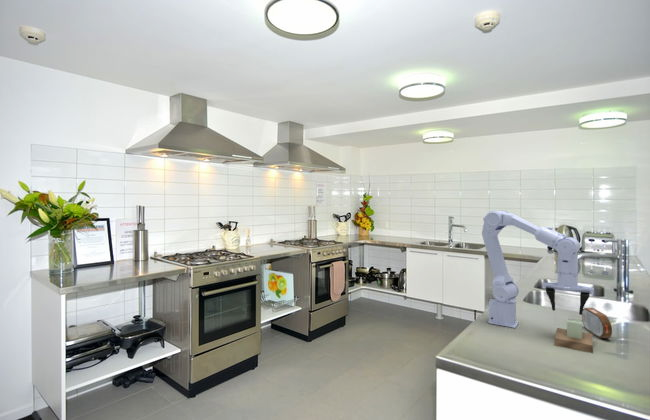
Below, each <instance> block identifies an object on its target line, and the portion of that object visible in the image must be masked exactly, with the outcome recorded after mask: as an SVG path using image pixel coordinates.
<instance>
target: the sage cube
mask: <svg viewBox="0 0 650 420" xmlns="http://www.w3.org/2000/svg"><path fill="white" fill-rule="evenodd" d="M566 329H567V337H572V338H578V339H582V332H583V322H582V320H579V319H572V318H567V321H566Z"/></svg>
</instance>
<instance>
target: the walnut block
mask: <svg viewBox="0 0 650 420" xmlns="http://www.w3.org/2000/svg"><path fill="white" fill-rule="evenodd" d="M593 336H594V334H593V333H589V332H583V331H582V339H578V338H572V337H567V328H561V327H557V328H556V332H555V336H554V346H556V347H561V348H566V349H570V350H575V351H576V350H577V351H581V352H585V353H589V354H590V353H591V354H593V351H594V350H593V349H594V347H593V346H594V344H593V343H594V341H593V340H594V338H593Z"/></svg>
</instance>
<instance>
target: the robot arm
mask: <svg viewBox="0 0 650 420" xmlns="http://www.w3.org/2000/svg"><path fill="white" fill-rule="evenodd" d="M507 226H514V227H516V228H517V229H520V230H522V231H525V232H527V233H529V234H531V235H534V237H535V240H536V241H538V242H540V243H542V244H544V245H546V246H547V247H550V248H552V249H555V250H556V252H557V253H558V254H557V282H544V281H543V282H542V289H545V292H546V295H547V297H548V299H549V301H550V305H551V309H552V311H553V312H555V310H556V297H555V296H556V290H557V291H562V292H563V291H565V292H571V293H572V292H573V293H580V295H579V303H580V304H579V313H578V314H579V315H581V316H582V311H583V309H584V308H585V305H586V303H587V302H588V300H589V298H590V295H592V296H593V295H594V294H595V288H594V287H591V286H590V287H589V286H582V285H578V280H579V279H578V273H579V272H578V271H579V259H578V258H579V256H578V254H579V253H578V252H579V251H580V249H581V243H580V242H579V241H578V239H576V238H575V237H572V236H568V237H567V234H566V233H560V232H558V231H556V230H554V229H553V228H554V227H552V226H541V227H540V226H538V225H535V224H534V223H532V222H530V221H528V220H526V219H524V218H522V217H521V216H519V215H517V214H514V213H512V212H508V211H507V210H490V211H488V212H487V213H486V215H485V216H484V217H483V226H482V230H481V235H482V236H481V237H482V240H483V243H484V246H485V250H486V254H487V257H488V260H489V263H490V267H491V271H492V274H493V280H492V287H493V288H492V295H493V297H494V298H489V302H488V321H487V322H488V323H487V324H492V325H497V326H503V327H509V328H513V329H516V328H517V326H518V324H519V321H518V320H517V299H516V298H517V297H518V296H519V294H520V289H519V287H518V286H517V284H516V283H515V281H514V278H513V277H512V276H511V275H510V274H509V271H508V267H507V264H506V260H505V257H504V253H503V251H502V247H501V243H500V240H499V237H498V236H499V233H500V232H501V231H502V230H503V229H504V228H505V227H507Z"/></svg>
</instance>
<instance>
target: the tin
mask: <svg viewBox="0 0 650 420" xmlns="http://www.w3.org/2000/svg"><path fill="white" fill-rule="evenodd" d="M581 319H582V320H581V321H582V325H583V326H584V328H585V329H586V330H587V331H589V332H590V334H593V336H595V337H597V338H598V339H610V338H612V335H613V329H612V328H613V327H612V323H611V321H610V319H609V317H608V315H606V314H605V313H603V312H602V311H599V310H598V309H596V308H594V307H584V308H583V311H582V315H581Z"/></svg>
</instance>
